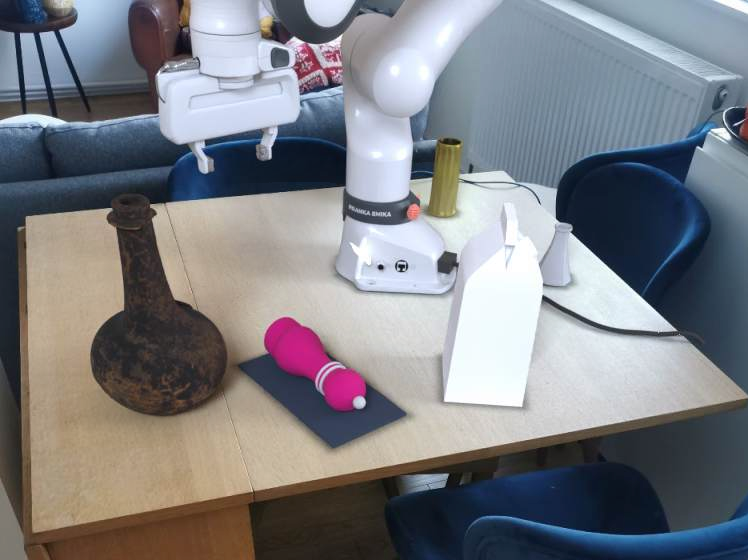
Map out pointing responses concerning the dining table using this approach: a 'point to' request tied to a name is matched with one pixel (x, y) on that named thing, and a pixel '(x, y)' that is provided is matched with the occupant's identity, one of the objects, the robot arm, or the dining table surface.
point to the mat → (321, 403)
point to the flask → (557, 258)
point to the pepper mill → (314, 364)
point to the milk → (493, 316)
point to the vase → (445, 177)
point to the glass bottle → (153, 328)
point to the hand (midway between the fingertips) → (236, 165)
